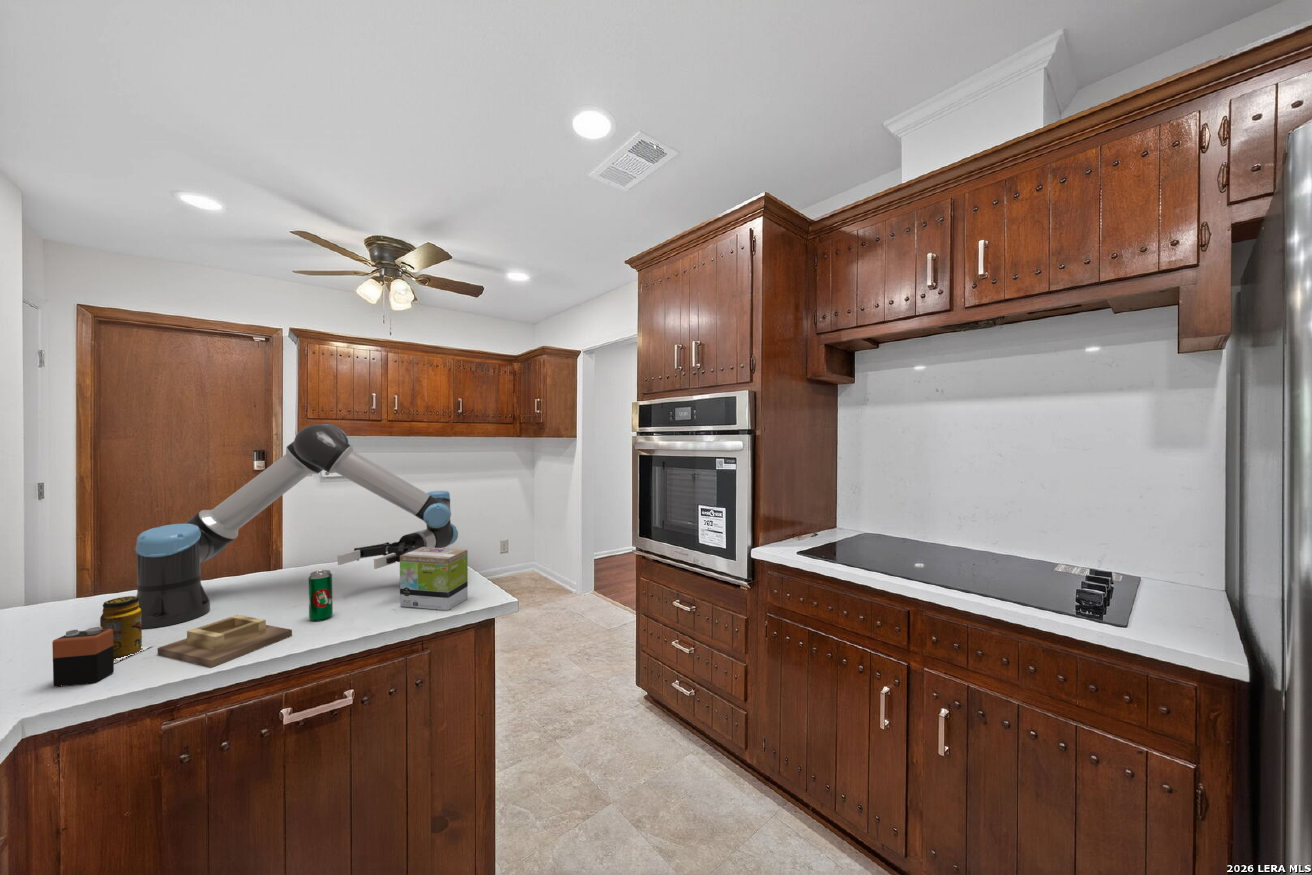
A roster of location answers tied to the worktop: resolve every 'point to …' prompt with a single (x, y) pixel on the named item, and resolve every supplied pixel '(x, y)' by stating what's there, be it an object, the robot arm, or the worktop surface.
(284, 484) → the robot arm
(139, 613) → the condiment
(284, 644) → the worktop surface
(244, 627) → the collar board
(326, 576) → the soda can
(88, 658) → the battery
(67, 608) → the worktop surface
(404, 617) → the worktop surface
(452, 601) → the tea box
